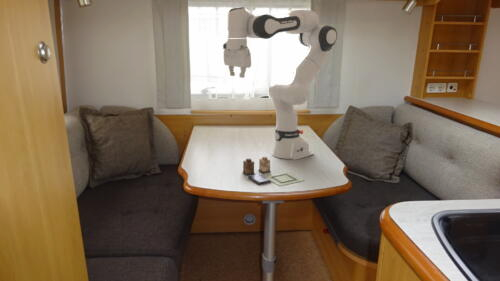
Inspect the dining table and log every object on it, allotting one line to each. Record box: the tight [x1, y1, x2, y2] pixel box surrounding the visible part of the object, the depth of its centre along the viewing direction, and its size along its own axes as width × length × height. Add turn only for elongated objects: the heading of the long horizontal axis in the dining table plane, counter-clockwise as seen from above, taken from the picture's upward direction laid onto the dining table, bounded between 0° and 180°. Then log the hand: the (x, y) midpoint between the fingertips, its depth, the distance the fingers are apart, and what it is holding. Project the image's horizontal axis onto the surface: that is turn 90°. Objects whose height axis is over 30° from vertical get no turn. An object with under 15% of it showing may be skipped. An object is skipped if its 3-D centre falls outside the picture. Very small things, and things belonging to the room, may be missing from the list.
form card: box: [264, 171, 305, 187], centre depth 162 cm, size 13×12×1 cm
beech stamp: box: [258, 156, 271, 175], centre depth 169 cm, size 4×4×7 cm
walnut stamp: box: [242, 158, 256, 177], centre depth 166 cm, size 4×4×7 cm
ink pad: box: [247, 173, 272, 186], centre depth 159 cm, size 6×9×1 cm, turn 30°
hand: (237, 76), depth 168 cm, fingers open, 8 cm apart
